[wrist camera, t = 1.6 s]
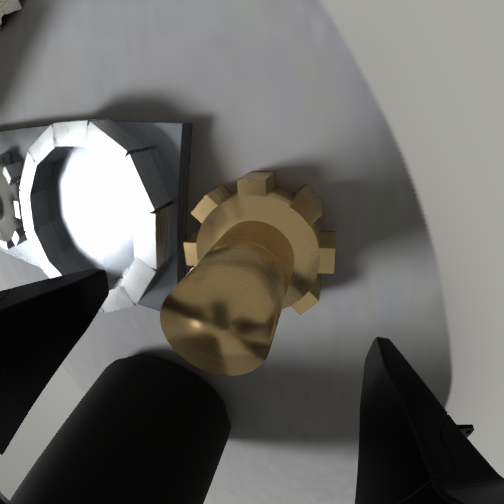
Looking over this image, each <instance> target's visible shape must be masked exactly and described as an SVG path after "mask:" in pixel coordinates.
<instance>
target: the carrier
mask: <svg viewBox="0 0 504 504" xmlns="http://www.w3.org/2000/svg"><path fill="white" fill-rule="evenodd" d="M191 132H192V123H181V122H152V121H112V120H108V119H88V120H73V121H65V122H58V123H53V124H51V125H45V126H36V127H27V128H19V129H12V130H6V131H0V154H2V153H10V157H11V162H12V163H17V162H21V163H22V165H23V167H24V168H23V173H22V177H21V182H20V187H19V189H20V191H19V194H20V203H21V211H22V218H23V224H24V231H27V232H26V233H25V234H26V236H27V238H28V240H26V241H24V242H22V243H21V244H19V245H17V246H14V247H12V248H10V249H9V250H7V249H5V248H2V247H1V244H0V250H2V251H4V252H6V253H8V254H10V255H13V256H15V257H17V258H19V259H22V260H24V261H26V262H28V263H31V264H33V265H35V266H38V267H40V268H42V269H44V272H45V273H46V274H47V275H48V276H49V277H50V278H54V277H58V276H62V275H66V274H70V273H74V272H78V271H82V270H86V269H90V268H94V267H97V268H100V269H103V270H105V271H106V273H107V278H108V285H109V295H108V297H107V299H106V300H105V302H104V303H103V305H102V306H101V308H100V309H99V311H100V312H102V313H103V312H105V313H108V312H112V311H116V310H120V309H124V308H128V307H132V306H135V305H136V304H139V305H142V306H146V307H149V308H152V309H155V310H158V311H161V307H162V304H163V302H164V300H165V299H166V297H167V296H168V295H169V294H170V292H171V291H172V290H173V289H174V288H175V287H176V286H177V285H178V284H179V282H180V281H181V280H182V279H183V278H184V277H185V265H186V257H185V251H184V244H183V242H184V241H186V219H187V195H188V176H189V159H190V145H191Z"/></svg>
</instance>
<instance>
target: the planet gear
mask: <svg viewBox="0 0 504 504" xmlns="http://www.w3.org/2000/svg"><path fill="white" fill-rule="evenodd" d="M237 189H238V192H236V193H234V194H233V195H232V194H231V193H230V192H229V191H228V190H227V189H226V188H225V187H224V186H223V185H221V186H219V187H218V188H216V189H214V190H213V191H211V192H209V193H208V194H206V195H205V196H204V198H203V199H202V200H201V201H200V202H199V204H198V205H197V206H196V207H195V209H194V210H193V211H192V212H191V214H192V215H193V216H194V217H195V218H196V219H197V220H198V221H200V222H201V223H202V225H201V227H200V229H198V230H197V231H196V232H195V233H194V234H193V235H191V236H190V237H189V238H188V239H187V240H186V241H184V242H183V244H184V251H185V257H186V264H187V265H190V266H194V267H193V268H192V269H191V270H190V271H189V272H188V274H187V275H186V276H185V277H184V278H183V279H182V280H181V281H180V282H179V284H178V285H177V286H176V287H175V288H174V289H173V290H172V291H171V292H170V294H169V295H168V296H167V297H166V299H165V300H164V302H163V304H162V307H161V312H160V321H161V326H162V329H163V332H164V334H165V337H166V338H167V340H168V342H169V343H170V345H171V346H172V347H173V349H174V350H175V351H176V352H177V353H178V354H179V355H180V356H181V357H183V358H184V359H185V360H186V361H188V362H189V363H191V364H192V365H194V366H196V367H198V368H200V369H202V370H204V371H207V372H210V373H214V374H218V375H225V376H235V375H242V374H246V373H249V372H251V371H253V370H255V369H256V368H258V367H259V366H260V365H261V364H262V363H263V362H264V361H265V359H266V358H267V356H268V353H269V350H270V347H271V344H272V340H273V337H274V334H275V331H276V327H277V324H278V321H279V317H280V314H281V310H282V309H283V308H286V307H288V306H291V307H292V308H293V309H295V310H296V311H297V312H298V313H299V314H300V315H301V314H302V313H304V312H305V311H306V310H308V309H309V308H310V307H312V306H313V305H314V304H316V303H317V302H318V301H319V296H320V287H321V279H320V278H319V277H318V276H317V274H318V273H324V274H334V265H335V232H323V231H320V227H319V224H318V221H317V220H318V219H319V218H320V217H321V216H322V212H323V202H322V201H321V200H320V199H319V198H318V197H317V196H316V195H315V194H314V193H313V192H312V191H311V190H310V189H309V188H308V187H307V186H306V185H304V186H303V187H302V188H301V189H300V190H299V191H298V192H297V193H296V194H293V193H291V192H289V191H287V190H285V189H282V188H279V187H275V177H274V172H249V173H247V174H246V175H244V176H243V177H241V178H239V179H238V180H237Z"/></svg>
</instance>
